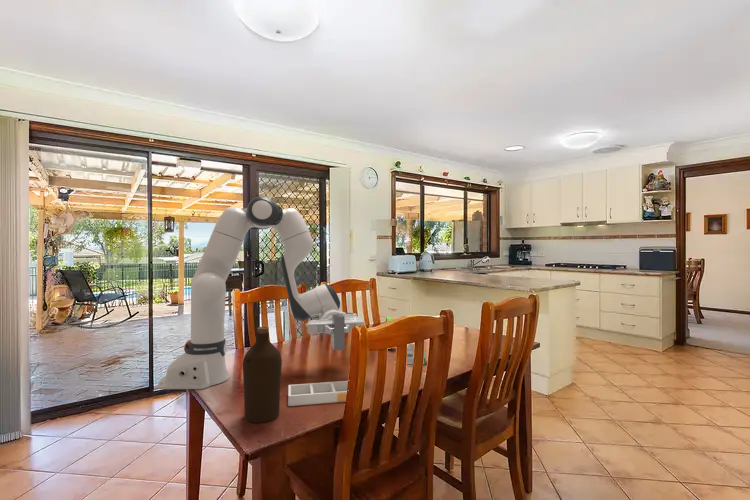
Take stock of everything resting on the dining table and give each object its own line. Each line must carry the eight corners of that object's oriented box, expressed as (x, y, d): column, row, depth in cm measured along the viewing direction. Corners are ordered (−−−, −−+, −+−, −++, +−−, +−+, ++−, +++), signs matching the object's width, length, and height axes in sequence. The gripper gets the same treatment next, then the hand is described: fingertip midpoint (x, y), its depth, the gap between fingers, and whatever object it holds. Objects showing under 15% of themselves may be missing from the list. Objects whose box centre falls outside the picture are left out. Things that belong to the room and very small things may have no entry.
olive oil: (275, 424, 102) (275, 332, 101) (236, 423, 102) (236, 331, 102) (285, 408, 112) (286, 324, 112) (250, 407, 113) (251, 323, 112)
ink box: (424, 361, 160) (424, 333, 160) (425, 364, 155) (425, 336, 155) (404, 360, 160) (404, 333, 160) (405, 364, 156) (405, 335, 156)
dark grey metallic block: (334, 350, 124) (334, 317, 124) (332, 346, 129) (332, 314, 129) (344, 349, 125) (344, 316, 125) (342, 345, 130) (342, 313, 130)
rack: (288, 406, 113) (288, 396, 113) (288, 394, 123) (288, 384, 123) (357, 400, 118) (357, 391, 118) (352, 389, 128) (352, 380, 128)
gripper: (304, 315, 137) (307, 322, 124) (360, 313, 142) (368, 320, 128) (304, 332, 137) (307, 341, 124) (360, 329, 142) (368, 338, 128)
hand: (338, 330), depth 126 cm, fingers closed on dark grey metallic block, 3 cm apart
